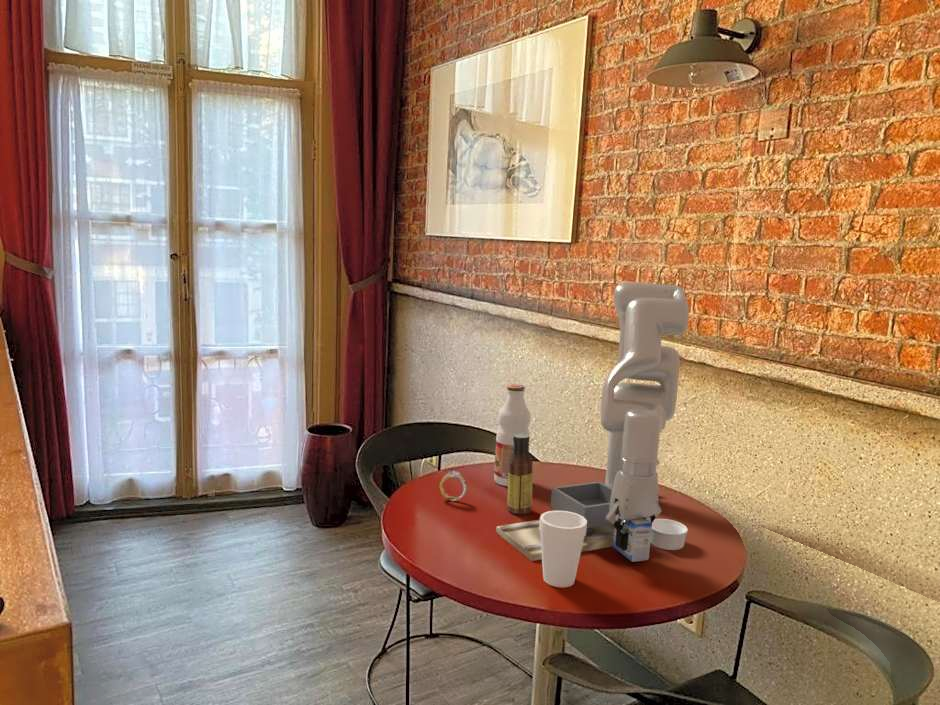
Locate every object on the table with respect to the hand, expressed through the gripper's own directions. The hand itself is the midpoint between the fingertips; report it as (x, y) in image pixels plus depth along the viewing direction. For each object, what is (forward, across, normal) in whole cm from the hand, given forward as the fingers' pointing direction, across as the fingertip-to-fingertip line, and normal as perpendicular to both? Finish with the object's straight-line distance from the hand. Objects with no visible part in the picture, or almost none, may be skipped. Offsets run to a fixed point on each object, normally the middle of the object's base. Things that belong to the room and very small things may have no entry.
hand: (631, 545), depth 156 cm
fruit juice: (+4, 0, -52) cm, 53 cm away
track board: (+3, +6, -14) cm, 16 cm away
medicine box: (+2, 0, 0) cm, 2 cm away
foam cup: (+3, +21, +3) cm, 21 cm away
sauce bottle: (+4, +9, -32) cm, 34 cm away
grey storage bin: (+1, 0, -14) cm, 14 cm away
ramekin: (+4, -14, -3) cm, 14 cm away
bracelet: (+4, +22, -44) cm, 50 cm away
